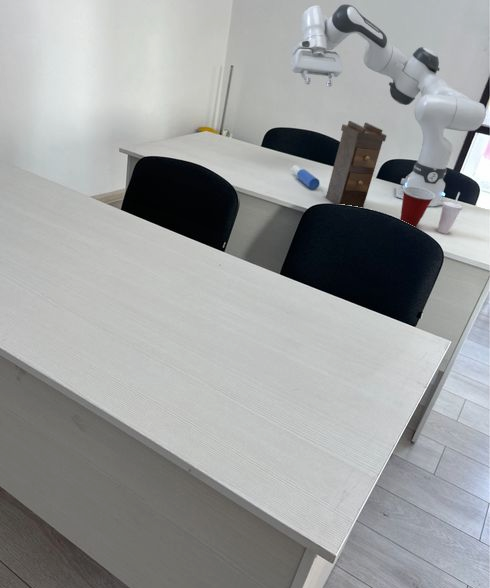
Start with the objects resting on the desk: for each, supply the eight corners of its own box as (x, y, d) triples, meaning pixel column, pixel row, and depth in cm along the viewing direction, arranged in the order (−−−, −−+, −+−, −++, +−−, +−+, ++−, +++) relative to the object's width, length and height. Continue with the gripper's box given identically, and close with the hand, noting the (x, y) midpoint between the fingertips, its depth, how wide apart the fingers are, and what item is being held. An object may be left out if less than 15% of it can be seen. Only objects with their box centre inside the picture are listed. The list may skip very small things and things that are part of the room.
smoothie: (453, 236, 198) (469, 196, 191) (434, 232, 199) (449, 192, 192) (450, 230, 204) (465, 191, 197) (432, 226, 205) (446, 187, 197)
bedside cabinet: (324, 196, 218) (343, 119, 203) (349, 198, 221) (371, 122, 206) (340, 209, 206) (362, 129, 192) (367, 211, 210) (390, 132, 195)
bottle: (290, 163, 237) (300, 163, 238) (288, 174, 239) (298, 174, 240) (310, 178, 221) (320, 178, 222) (308, 189, 223) (318, 189, 224)
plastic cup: (391, 225, 199) (402, 191, 193) (393, 216, 208) (403, 183, 202) (423, 233, 197) (436, 198, 190) (423, 224, 206) (435, 191, 199)
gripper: (334, 57, 228) (338, 91, 227) (287, 51, 221) (291, 86, 220) (343, 47, 222) (347, 82, 221) (295, 41, 215) (299, 77, 214)
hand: (318, 84), depth 220 cm, fingers open, 8 cm apart
